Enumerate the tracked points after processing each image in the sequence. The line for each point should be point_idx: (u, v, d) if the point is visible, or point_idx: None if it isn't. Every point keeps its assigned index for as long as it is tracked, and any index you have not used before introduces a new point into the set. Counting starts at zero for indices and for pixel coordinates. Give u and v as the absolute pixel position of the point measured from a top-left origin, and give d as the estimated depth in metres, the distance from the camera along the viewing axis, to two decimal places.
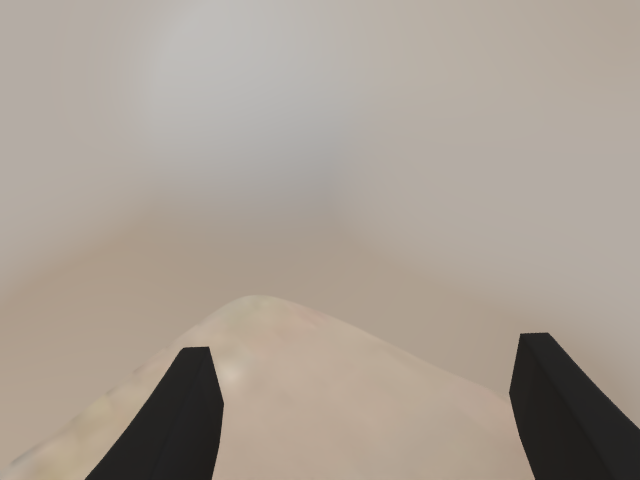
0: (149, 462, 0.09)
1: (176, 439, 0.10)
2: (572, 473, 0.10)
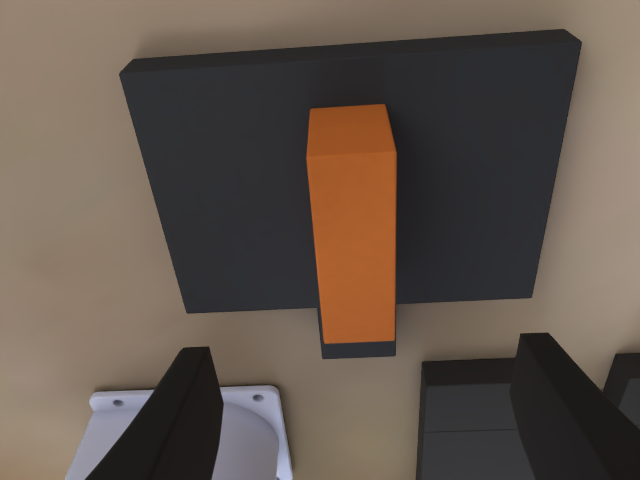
0: (149, 462, 0.09)
1: (176, 439, 0.10)
2: (572, 473, 0.10)
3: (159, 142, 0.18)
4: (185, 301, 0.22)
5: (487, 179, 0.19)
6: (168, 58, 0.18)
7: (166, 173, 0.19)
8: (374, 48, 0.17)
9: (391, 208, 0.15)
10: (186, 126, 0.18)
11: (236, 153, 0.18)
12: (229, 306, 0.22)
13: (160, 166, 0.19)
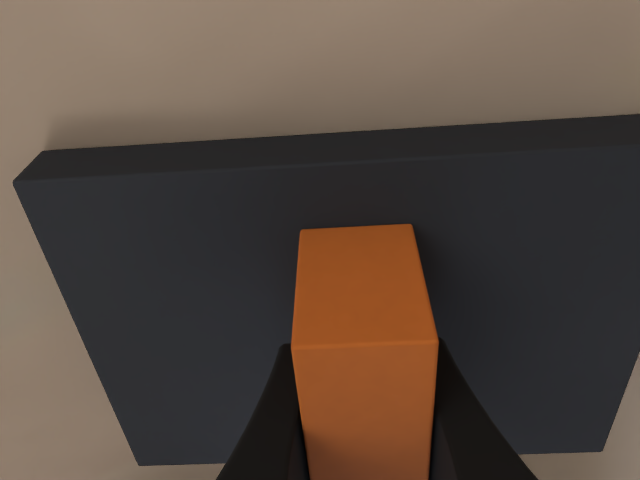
0: (282, 458, 0.09)
1: (297, 435, 0.10)
2: (442, 477, 0.10)
3: (81, 271, 0.12)
4: (136, 453, 0.16)
5: (555, 317, 0.13)
6: (92, 152, 0.12)
7: (95, 308, 0.13)
8: (396, 143, 0.11)
9: (426, 411, 0.10)
10: (119, 251, 0.12)
11: (194, 284, 0.13)
12: (194, 459, 0.17)
13: (86, 300, 0.13)
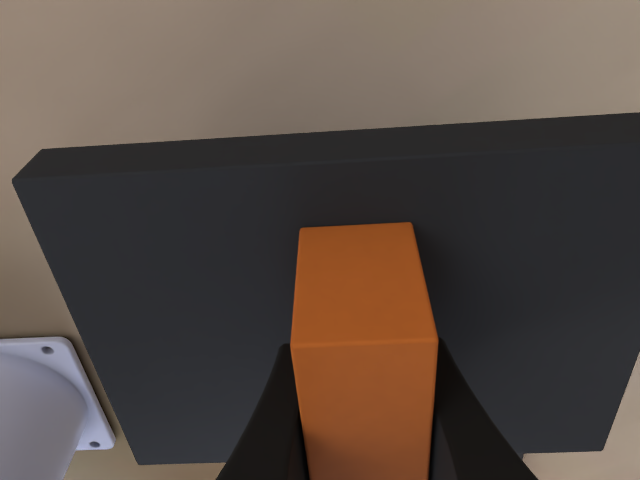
0: (281, 458, 0.09)
1: (297, 435, 0.10)
2: (442, 477, 0.10)
3: (80, 269, 0.12)
4: (135, 452, 0.16)
5: (555, 316, 0.13)
6: (91, 150, 0.12)
7: (94, 307, 0.13)
8: (396, 141, 0.11)
9: (426, 410, 0.10)
10: (119, 249, 0.12)
11: (194, 282, 0.13)
12: (194, 458, 0.17)
13: (85, 299, 0.13)
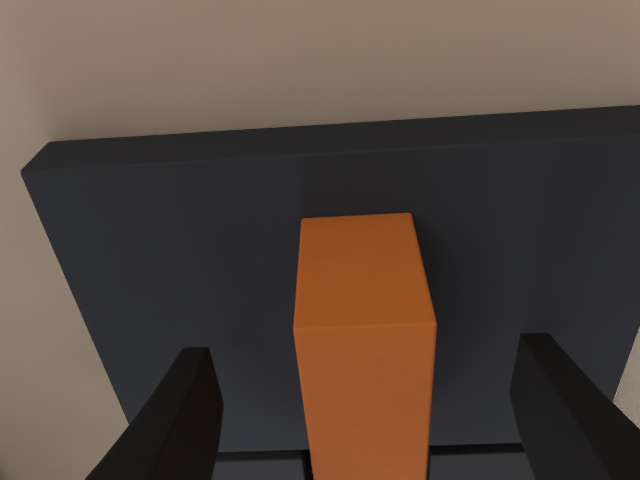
0: (149, 462, 0.09)
1: (176, 439, 0.10)
2: (572, 473, 0.10)
3: (87, 260, 0.13)
4: None
5: (551, 306, 0.13)
6: (97, 142, 0.12)
7: (101, 297, 0.13)
8: (395, 133, 0.12)
9: (425, 393, 0.10)
10: (124, 240, 0.12)
11: (198, 273, 0.13)
12: None
13: (91, 289, 0.13)
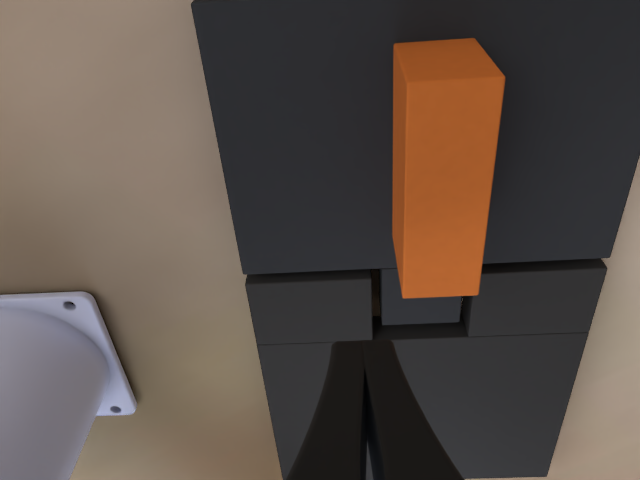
0: (351, 456, 0.09)
1: (360, 433, 0.10)
2: (380, 479, 0.10)
3: (229, 82, 0.17)
4: (243, 261, 0.21)
5: (576, 124, 0.18)
6: None
7: (234, 117, 0.18)
8: None
9: (492, 143, 0.14)
10: (259, 63, 0.17)
11: (310, 94, 0.17)
12: (289, 266, 0.21)
13: (228, 109, 0.17)
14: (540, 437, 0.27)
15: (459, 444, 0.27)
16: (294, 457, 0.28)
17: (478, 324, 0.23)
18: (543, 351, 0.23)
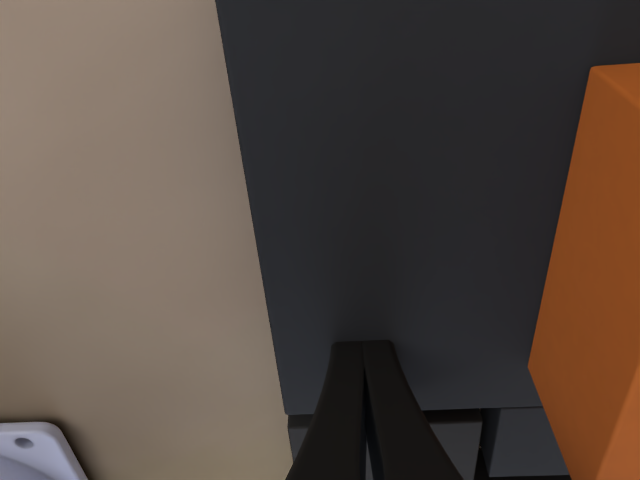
0: (351, 456, 0.09)
1: (360, 433, 0.10)
2: (380, 479, 0.10)
3: (279, 134, 0.09)
4: (287, 397, 0.13)
5: None
6: None
7: (284, 192, 0.10)
8: None
9: None
10: (336, 103, 0.09)
11: (424, 154, 0.10)
12: None
13: (275, 179, 0.10)
14: None
15: None
16: None
17: None
18: None
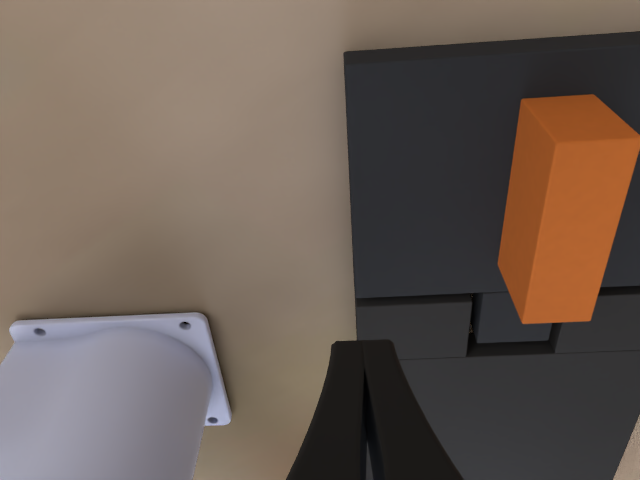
0: (351, 456, 0.09)
1: (360, 433, 0.10)
2: (380, 479, 0.10)
3: (369, 131, 0.19)
4: (357, 286, 0.23)
5: None
6: (382, 51, 0.19)
7: (368, 161, 0.20)
8: (586, 41, 0.18)
9: (623, 192, 0.16)
10: (398, 116, 0.19)
11: (440, 141, 0.19)
12: (398, 291, 0.23)
13: (364, 154, 0.19)
14: (610, 444, 0.29)
15: (534, 452, 0.29)
16: None
17: (565, 342, 0.25)
18: (622, 366, 0.26)
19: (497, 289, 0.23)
